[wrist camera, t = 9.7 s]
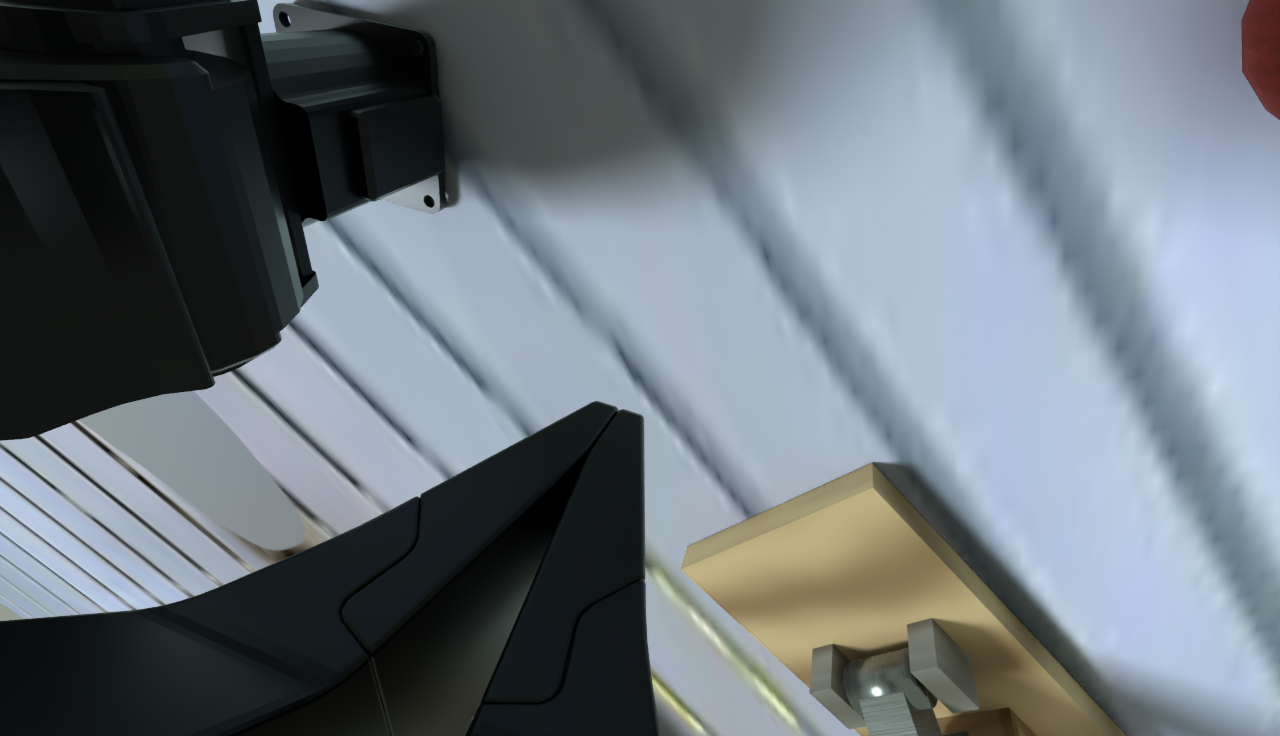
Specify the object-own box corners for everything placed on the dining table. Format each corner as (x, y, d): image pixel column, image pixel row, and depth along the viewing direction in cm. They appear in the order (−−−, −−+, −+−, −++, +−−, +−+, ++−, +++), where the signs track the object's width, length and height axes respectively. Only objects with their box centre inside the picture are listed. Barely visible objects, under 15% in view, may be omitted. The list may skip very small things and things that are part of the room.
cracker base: (687, 546, 30) (668, 608, 27) (872, 462, 24) (874, 531, 21) (916, 760, 34) (922, 836, 31) (1128, 737, 27) (1162, 829, 24)
